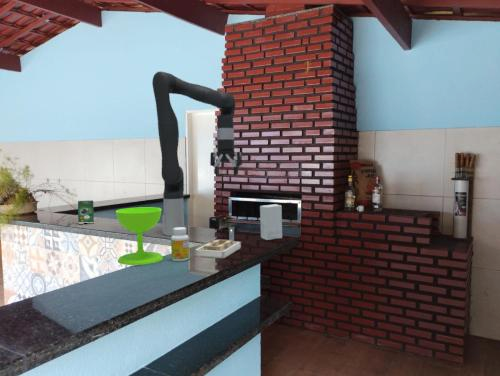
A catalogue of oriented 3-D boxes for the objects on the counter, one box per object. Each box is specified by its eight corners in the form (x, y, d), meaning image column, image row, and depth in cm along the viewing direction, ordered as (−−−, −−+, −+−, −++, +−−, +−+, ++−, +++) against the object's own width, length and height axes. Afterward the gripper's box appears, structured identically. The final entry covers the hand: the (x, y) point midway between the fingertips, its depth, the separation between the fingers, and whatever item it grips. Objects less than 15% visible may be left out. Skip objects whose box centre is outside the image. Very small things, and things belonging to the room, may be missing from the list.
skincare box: (276, 236, 192) (275, 203, 190) (282, 238, 186) (282, 205, 185) (259, 238, 188) (259, 205, 187) (266, 240, 182) (265, 206, 181)
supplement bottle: (167, 260, 151) (166, 228, 150) (180, 256, 156) (179, 226, 155) (180, 262, 147) (179, 230, 146) (192, 258, 152) (192, 227, 151)
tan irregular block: (215, 246, 169) (215, 239, 169) (232, 247, 167) (232, 240, 167) (201, 253, 157) (200, 246, 157) (219, 255, 155) (219, 247, 154)
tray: (194, 256, 155) (194, 249, 155) (214, 246, 172) (214, 240, 172) (223, 258, 152) (223, 251, 151) (240, 248, 168) (240, 241, 168)
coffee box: (93, 222, 238) (92, 199, 237) (94, 223, 235) (93, 200, 234) (78, 224, 234) (77, 200, 233) (79, 224, 232) (77, 201, 230)
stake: (228, 243, 177) (227, 227, 176) (229, 242, 178) (229, 226, 178) (233, 244, 176) (233, 227, 175) (235, 243, 178) (234, 227, 177)
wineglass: (108, 263, 147) (106, 212, 145) (132, 253, 162) (131, 206, 161) (149, 266, 143) (147, 213, 141) (170, 255, 158) (169, 207, 156)
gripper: (243, 138, 186) (244, 175, 187) (214, 139, 191) (215, 175, 192) (237, 138, 179) (238, 176, 180) (207, 139, 184) (208, 176, 185)
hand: (226, 175), depth 186 cm, fingers open, 8 cm apart
